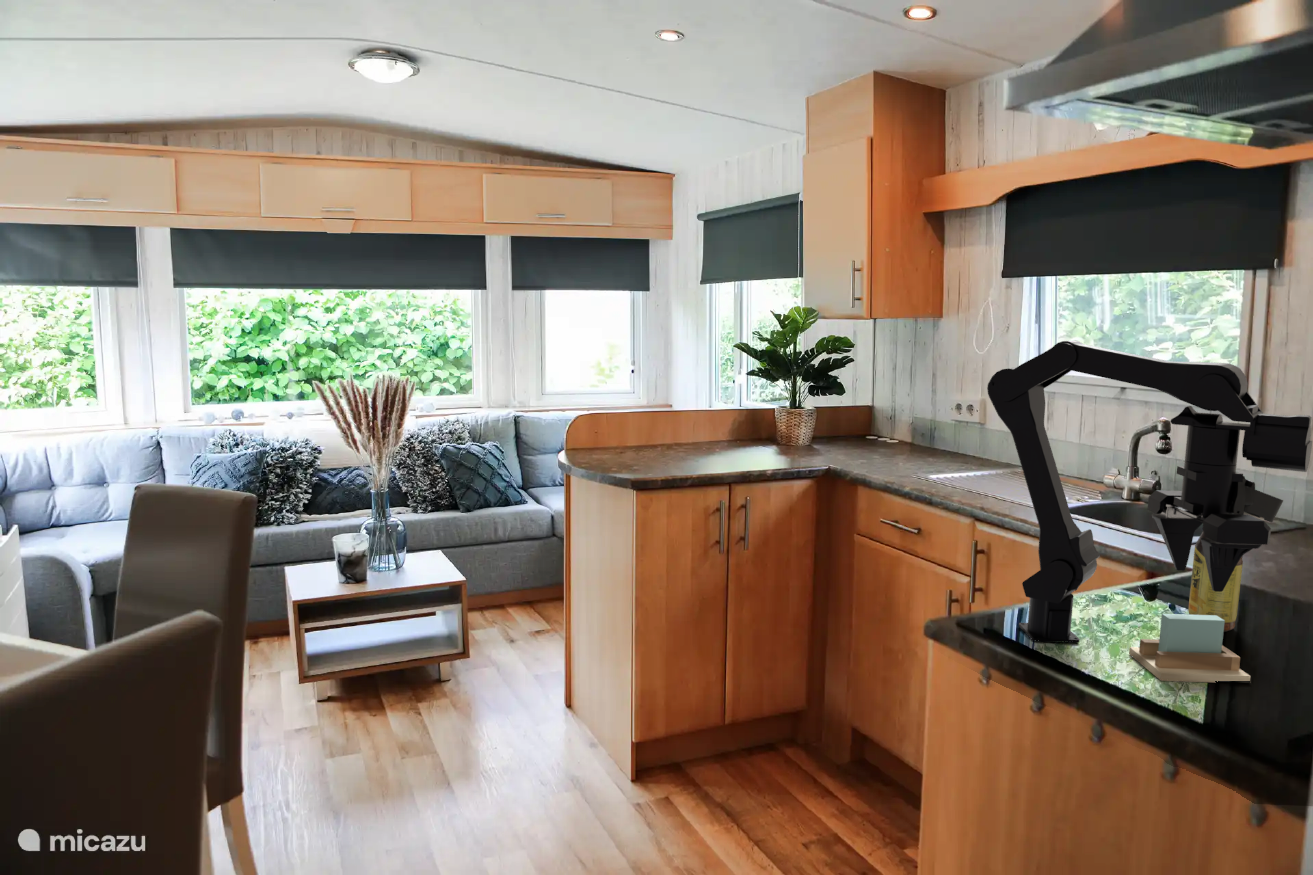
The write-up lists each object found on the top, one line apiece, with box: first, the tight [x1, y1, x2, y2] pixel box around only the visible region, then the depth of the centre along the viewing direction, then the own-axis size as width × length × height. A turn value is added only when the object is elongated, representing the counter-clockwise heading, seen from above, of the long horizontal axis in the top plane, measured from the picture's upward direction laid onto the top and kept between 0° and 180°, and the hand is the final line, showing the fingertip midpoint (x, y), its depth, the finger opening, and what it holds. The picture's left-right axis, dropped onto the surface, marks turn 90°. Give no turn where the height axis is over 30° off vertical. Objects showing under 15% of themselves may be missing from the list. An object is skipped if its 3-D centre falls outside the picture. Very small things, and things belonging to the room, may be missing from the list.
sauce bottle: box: [1187, 513, 1244, 633], centre depth 138 cm, size 7×6×20 cm
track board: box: [1128, 638, 1251, 683], centre depth 123 cm, size 9×11×3 cm
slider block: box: [1158, 613, 1225, 653], centre depth 123 cm, size 2×7×6 cm, turn 87°
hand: (1198, 580), depth 122 cm, fingers open, 9 cm apart
